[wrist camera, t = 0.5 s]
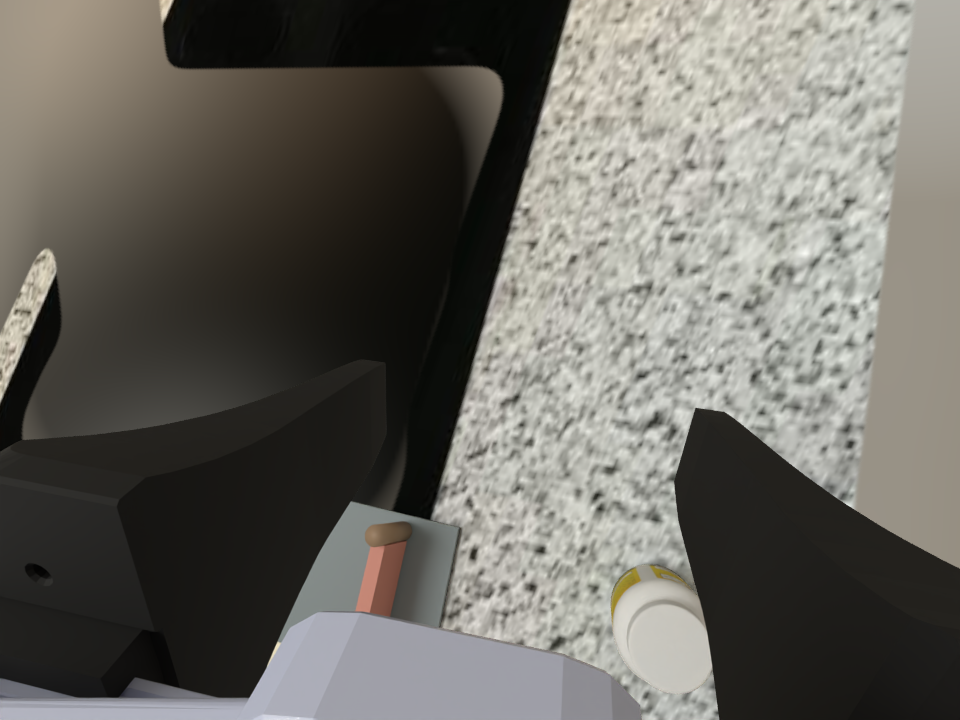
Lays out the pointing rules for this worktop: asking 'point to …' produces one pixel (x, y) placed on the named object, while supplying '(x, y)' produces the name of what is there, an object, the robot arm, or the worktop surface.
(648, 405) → the worktop surface
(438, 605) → the card
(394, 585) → the gate panel
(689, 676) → the supplement bottle
